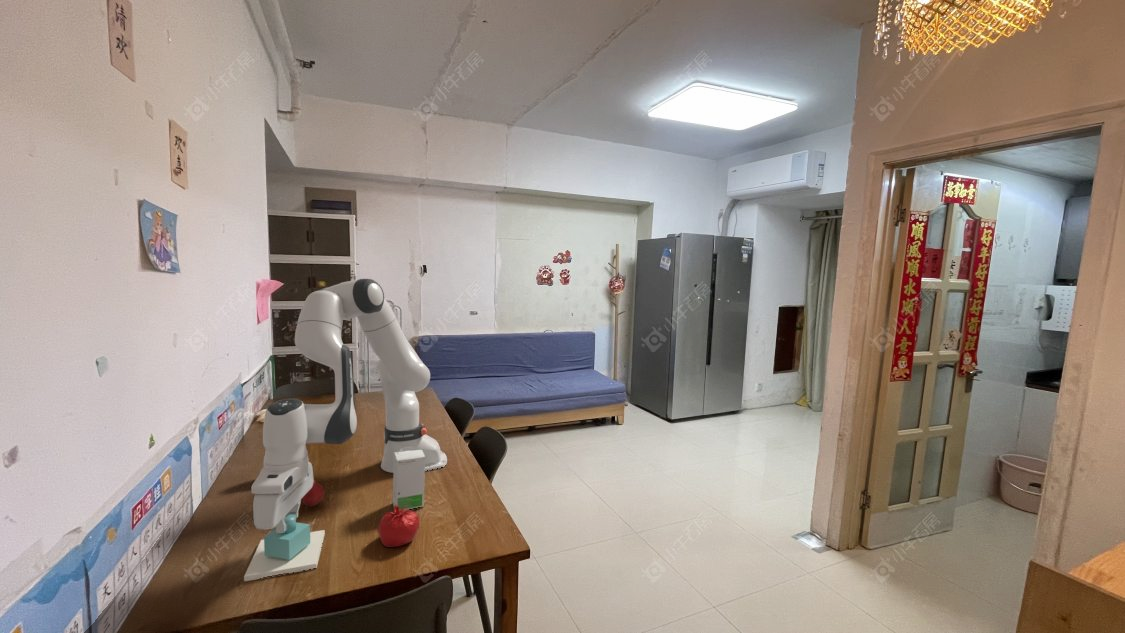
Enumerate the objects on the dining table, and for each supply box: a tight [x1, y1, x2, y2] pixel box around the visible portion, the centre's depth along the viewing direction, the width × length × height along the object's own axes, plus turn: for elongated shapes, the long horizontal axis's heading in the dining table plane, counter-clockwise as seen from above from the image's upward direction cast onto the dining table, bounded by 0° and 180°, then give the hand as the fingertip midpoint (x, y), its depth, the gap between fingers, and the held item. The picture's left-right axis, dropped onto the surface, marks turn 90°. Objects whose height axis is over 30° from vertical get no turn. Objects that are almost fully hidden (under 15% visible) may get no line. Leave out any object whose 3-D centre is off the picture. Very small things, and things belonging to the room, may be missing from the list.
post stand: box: [243, 529, 326, 582], centre depth 106 cm, size 14×14×5 cm
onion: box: [301, 479, 325, 507], centre depth 128 cm, size 6×6×8 cm
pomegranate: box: [377, 505, 420, 548], centre depth 114 cm, size 10×10×9 cm
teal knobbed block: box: [263, 514, 311, 560], centre depth 106 cm, size 7×7×8 cm
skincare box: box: [392, 450, 426, 510], centre depth 130 cm, size 8×7×16 cm
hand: (287, 525), depth 105 cm, fingers open, 4 cm apart
